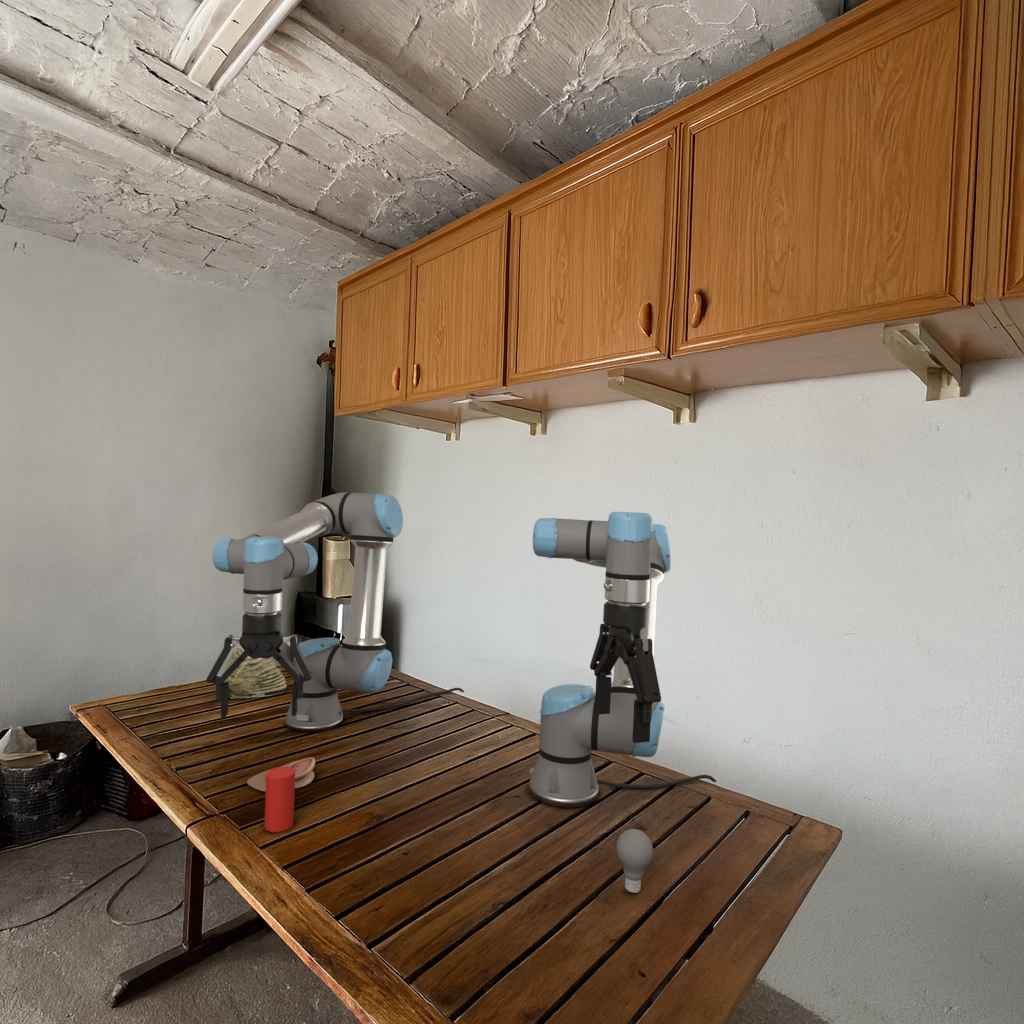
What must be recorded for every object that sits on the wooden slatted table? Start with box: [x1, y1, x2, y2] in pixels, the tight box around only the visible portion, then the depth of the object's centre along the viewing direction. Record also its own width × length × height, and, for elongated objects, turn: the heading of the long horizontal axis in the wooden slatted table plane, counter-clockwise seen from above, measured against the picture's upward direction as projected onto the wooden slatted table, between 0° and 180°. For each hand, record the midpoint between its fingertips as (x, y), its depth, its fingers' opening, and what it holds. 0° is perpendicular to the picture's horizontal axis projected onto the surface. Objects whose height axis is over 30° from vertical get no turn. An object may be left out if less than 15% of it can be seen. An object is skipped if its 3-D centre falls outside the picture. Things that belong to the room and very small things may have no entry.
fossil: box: [224, 646, 288, 699], centre depth 198 cm, size 9×18×15 cm, turn 132°
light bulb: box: [615, 828, 654, 894], centre depth 106 cm, size 6×6×10 cm
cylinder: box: [263, 766, 296, 833], centre depth 122 cm, size 5×5×10 cm
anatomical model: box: [246, 757, 316, 792], centre depth 140 cm, size 13×4×12 cm
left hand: (259, 715), depth 130 cm, fingers open, 13 cm apart
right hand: (620, 726), depth 108 cm, fingers open, 13 cm apart
